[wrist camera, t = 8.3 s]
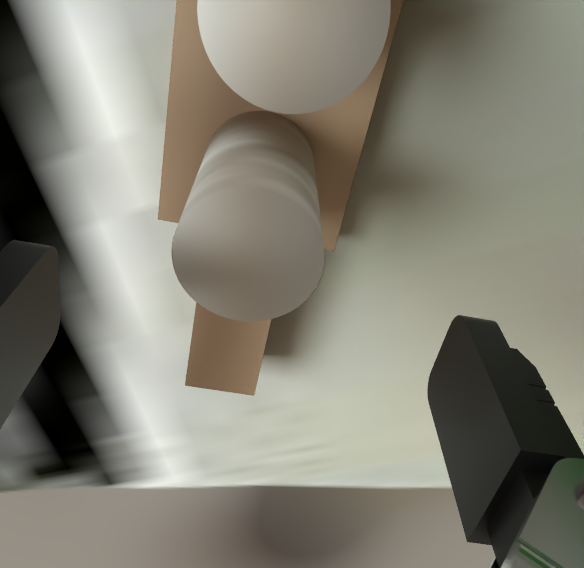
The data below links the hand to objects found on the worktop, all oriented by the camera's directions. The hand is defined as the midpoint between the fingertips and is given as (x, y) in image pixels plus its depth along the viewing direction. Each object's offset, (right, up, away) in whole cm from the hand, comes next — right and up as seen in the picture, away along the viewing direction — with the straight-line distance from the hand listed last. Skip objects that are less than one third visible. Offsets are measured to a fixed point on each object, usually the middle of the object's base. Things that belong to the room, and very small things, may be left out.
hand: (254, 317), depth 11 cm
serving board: (0, +5, +7) cm, 9 cm away
